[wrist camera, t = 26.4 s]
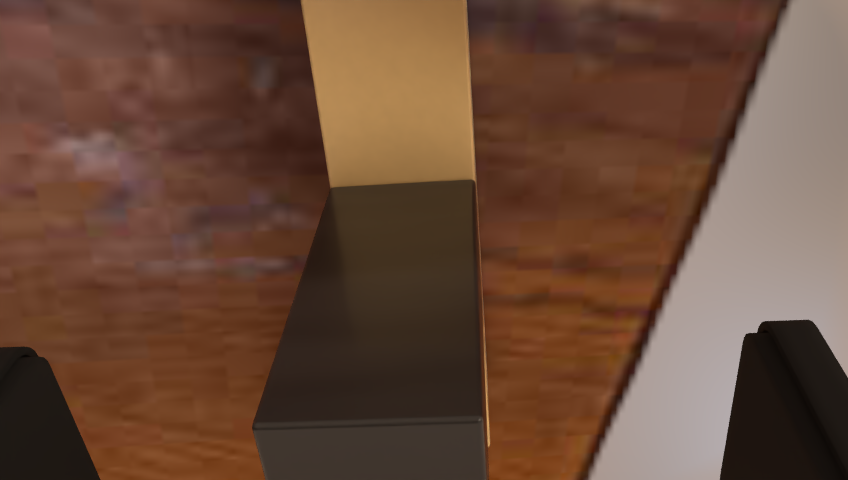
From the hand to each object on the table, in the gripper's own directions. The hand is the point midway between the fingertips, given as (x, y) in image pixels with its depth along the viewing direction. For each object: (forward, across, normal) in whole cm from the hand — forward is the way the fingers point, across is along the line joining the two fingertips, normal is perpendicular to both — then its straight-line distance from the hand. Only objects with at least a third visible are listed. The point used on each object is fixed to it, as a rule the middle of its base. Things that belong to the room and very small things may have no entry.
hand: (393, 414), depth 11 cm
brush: (+9, 0, +1) cm, 9 cm away
